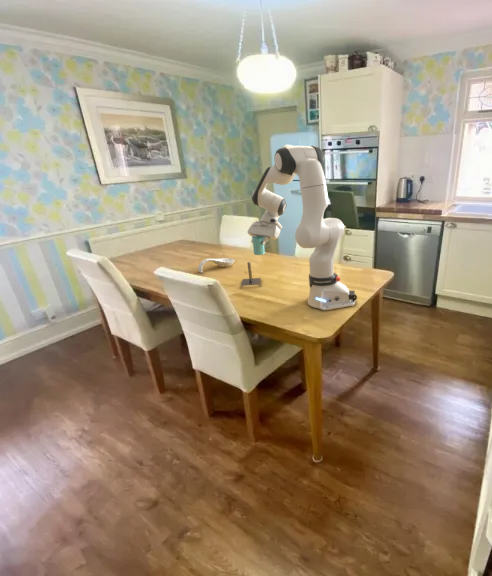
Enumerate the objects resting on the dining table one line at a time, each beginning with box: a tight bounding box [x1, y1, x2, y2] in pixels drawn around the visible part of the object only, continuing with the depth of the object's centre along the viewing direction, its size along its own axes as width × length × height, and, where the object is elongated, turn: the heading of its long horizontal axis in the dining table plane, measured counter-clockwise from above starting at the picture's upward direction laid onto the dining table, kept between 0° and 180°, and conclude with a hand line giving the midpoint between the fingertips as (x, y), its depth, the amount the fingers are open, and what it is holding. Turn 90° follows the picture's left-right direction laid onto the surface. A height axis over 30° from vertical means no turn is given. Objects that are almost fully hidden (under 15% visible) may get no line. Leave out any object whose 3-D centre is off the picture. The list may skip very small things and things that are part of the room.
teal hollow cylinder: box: [251, 236, 266, 256], centre depth 176 cm, size 6×6×9 cm
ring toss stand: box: [240, 261, 262, 286], centre depth 174 cm, size 10×10×12 cm
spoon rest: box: [197, 257, 235, 274], centre depth 202 cm, size 24×12×7 cm, turn 136°
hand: (257, 243), depth 175 cm, fingers closed on teal hollow cylinder, 6 cm apart
